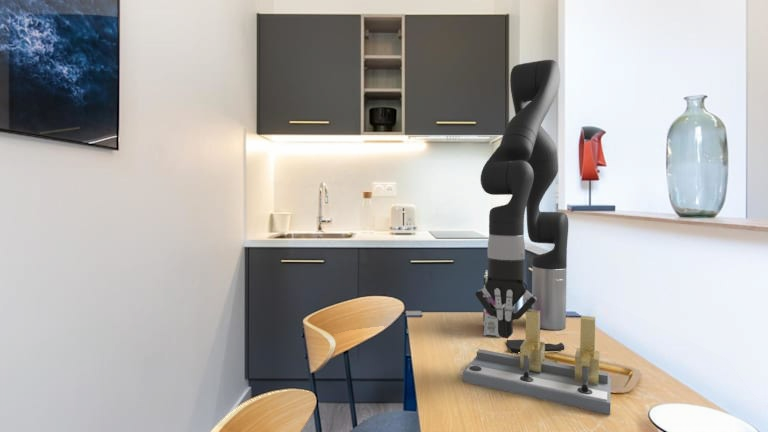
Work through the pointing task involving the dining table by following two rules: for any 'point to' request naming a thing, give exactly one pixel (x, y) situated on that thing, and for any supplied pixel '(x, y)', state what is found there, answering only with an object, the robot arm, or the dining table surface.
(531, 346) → the slider
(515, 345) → the dark sector wedge
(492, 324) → the candy bar box
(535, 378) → the board
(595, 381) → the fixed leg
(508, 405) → the dining table surface
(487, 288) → the robot arm
